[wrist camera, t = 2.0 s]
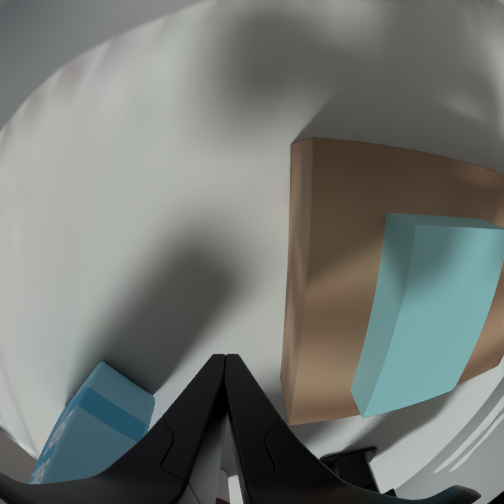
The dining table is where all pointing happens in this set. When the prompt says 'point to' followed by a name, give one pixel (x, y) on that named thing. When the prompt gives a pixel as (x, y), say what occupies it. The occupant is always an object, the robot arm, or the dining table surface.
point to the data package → (95, 427)
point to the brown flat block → (363, 259)
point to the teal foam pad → (426, 308)
